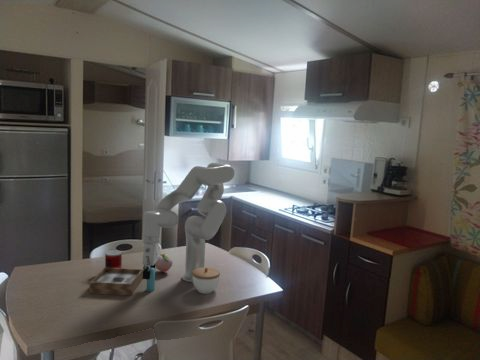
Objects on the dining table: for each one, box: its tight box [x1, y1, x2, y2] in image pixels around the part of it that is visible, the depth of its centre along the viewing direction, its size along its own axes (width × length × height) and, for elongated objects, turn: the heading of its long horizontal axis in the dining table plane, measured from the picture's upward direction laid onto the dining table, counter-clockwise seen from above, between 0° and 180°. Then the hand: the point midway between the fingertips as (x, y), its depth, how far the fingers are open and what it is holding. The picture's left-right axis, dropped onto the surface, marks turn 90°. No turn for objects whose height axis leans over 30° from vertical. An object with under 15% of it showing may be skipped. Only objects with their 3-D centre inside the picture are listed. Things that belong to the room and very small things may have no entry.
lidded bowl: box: [192, 266, 220, 295], centre depth 180 cm, size 13×13×11 cm
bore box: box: [89, 266, 144, 296], centre depth 181 cm, size 19×19×5 cm
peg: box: [146, 267, 156, 292], centre depth 178 cm, size 4×4×10 cm
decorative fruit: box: [155, 253, 173, 273], centre depth 200 cm, size 9×8×10 cm
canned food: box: [104, 249, 123, 268], centre depth 195 cm, size 8×8×11 cm
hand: (148, 275), depth 177 cm, fingers open, 9 cm apart
